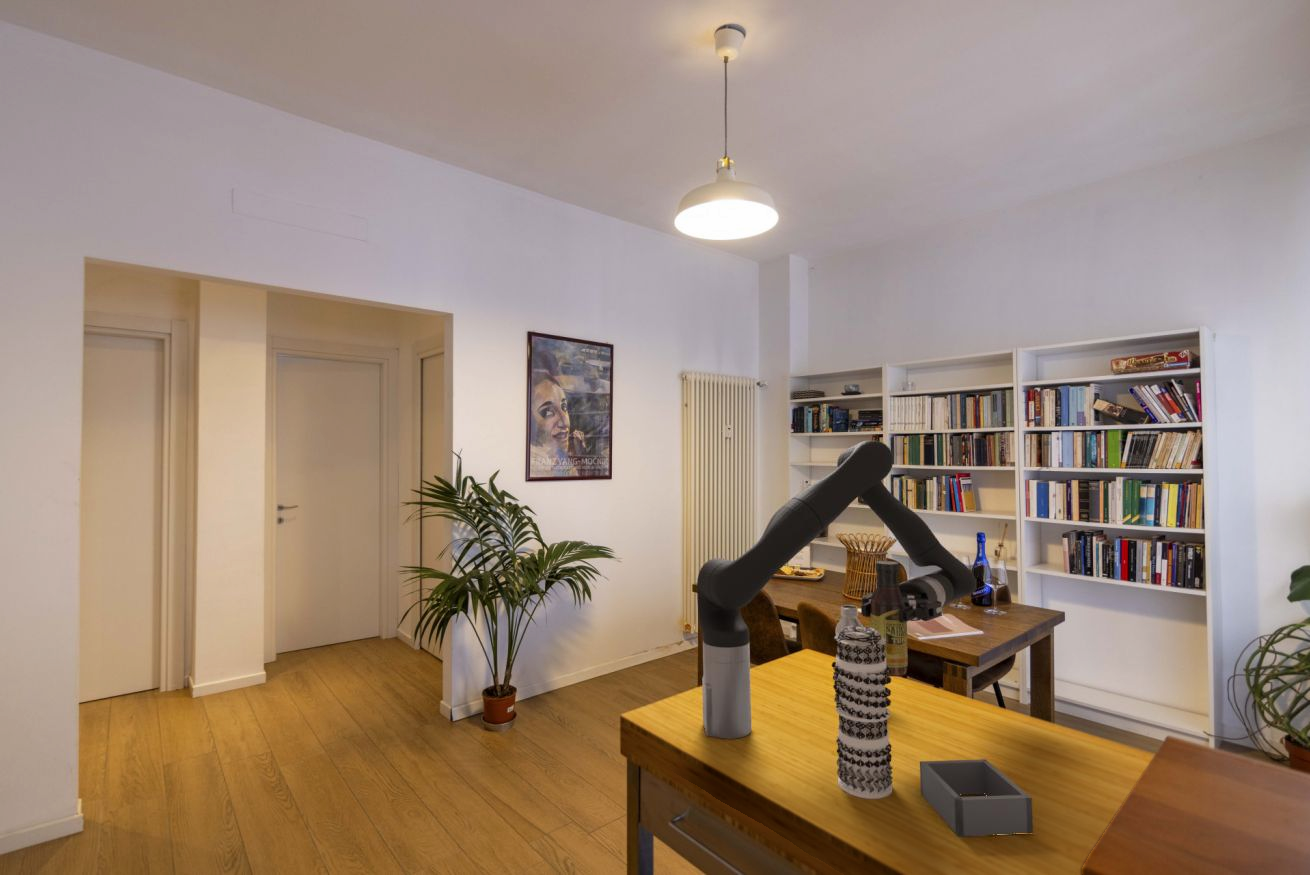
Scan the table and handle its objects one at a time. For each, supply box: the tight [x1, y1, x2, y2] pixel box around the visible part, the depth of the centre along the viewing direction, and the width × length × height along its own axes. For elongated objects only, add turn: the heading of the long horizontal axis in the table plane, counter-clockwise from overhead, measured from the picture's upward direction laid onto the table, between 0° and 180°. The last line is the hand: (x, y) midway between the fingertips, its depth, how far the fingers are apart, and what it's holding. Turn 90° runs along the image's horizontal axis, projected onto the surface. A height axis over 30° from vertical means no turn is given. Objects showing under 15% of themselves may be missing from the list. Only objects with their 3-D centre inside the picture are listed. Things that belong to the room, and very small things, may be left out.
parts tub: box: [919, 758, 1034, 838], centre depth 94 cm, size 11×12×5 cm
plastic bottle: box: [834, 604, 863, 688], centre depth 141 cm, size 6×7×20 cm
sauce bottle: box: [869, 560, 909, 678], centre depth 115 cm, size 7×6×20 cm
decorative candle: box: [831, 625, 893, 800], centre depth 103 cm, size 9×9×25 cm
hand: (882, 613), depth 113 cm, fingers closed on sauce bottle, 6 cm apart
